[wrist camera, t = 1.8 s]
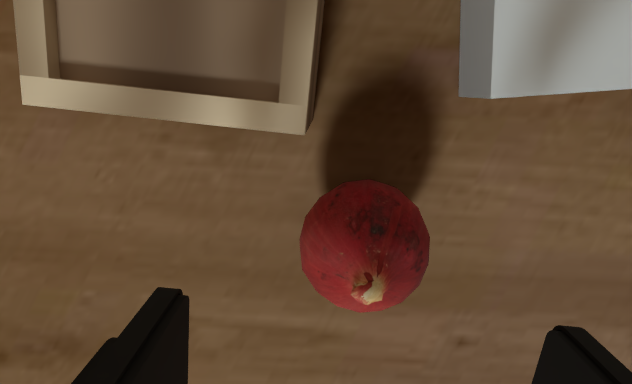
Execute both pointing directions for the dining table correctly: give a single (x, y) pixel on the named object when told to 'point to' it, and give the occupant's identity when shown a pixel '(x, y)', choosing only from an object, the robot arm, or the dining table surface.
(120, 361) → the robot arm
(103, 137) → the dining table surface
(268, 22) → the wooden open box
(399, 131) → the dining table surface
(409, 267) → the pomegranate
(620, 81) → the grey block
